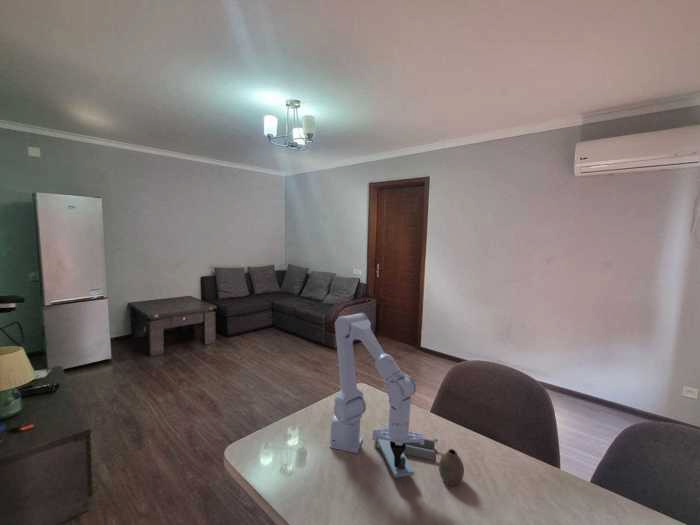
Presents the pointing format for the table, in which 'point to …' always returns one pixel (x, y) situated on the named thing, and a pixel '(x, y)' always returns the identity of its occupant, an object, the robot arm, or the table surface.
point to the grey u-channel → (418, 448)
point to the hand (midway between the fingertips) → (396, 464)
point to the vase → (451, 468)
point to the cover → (403, 464)
